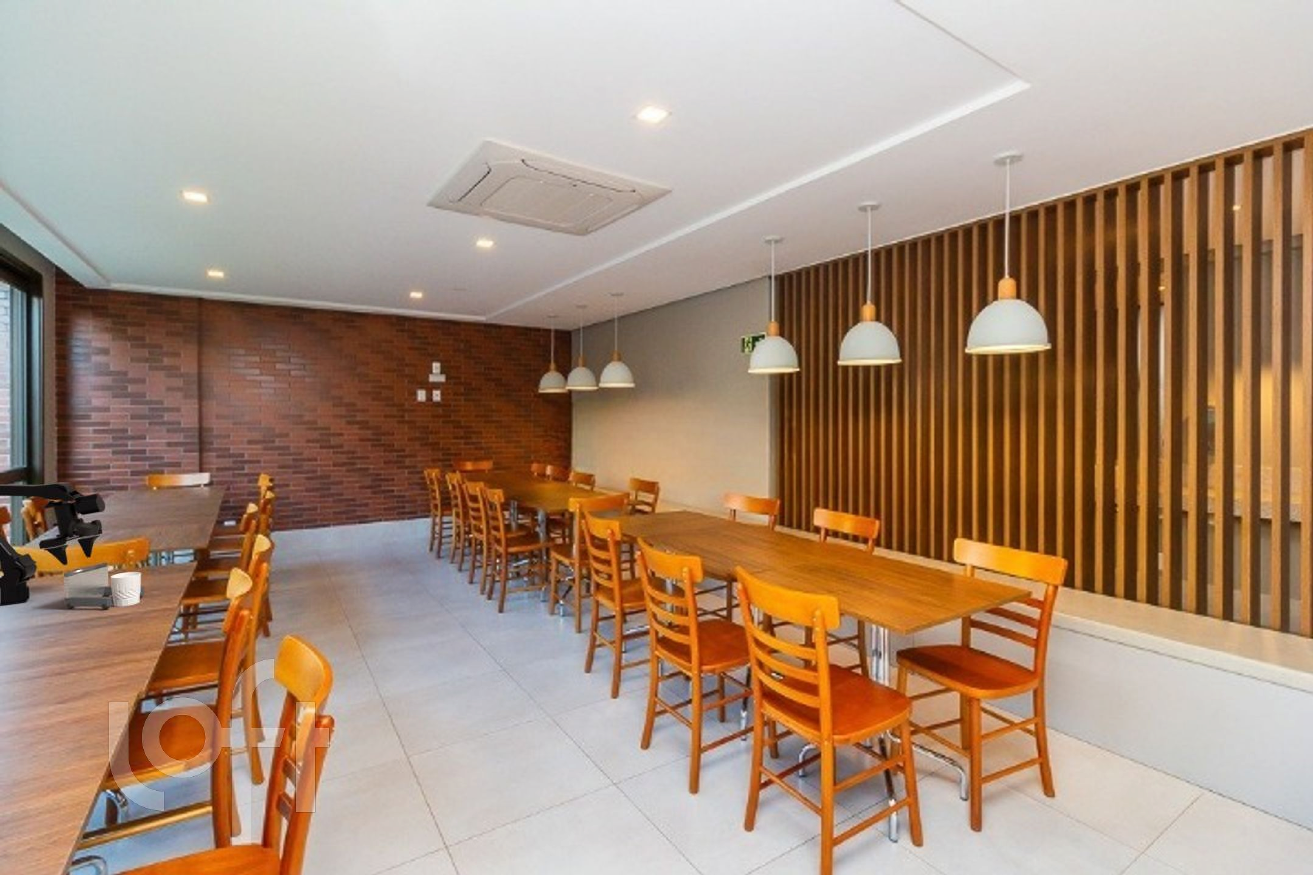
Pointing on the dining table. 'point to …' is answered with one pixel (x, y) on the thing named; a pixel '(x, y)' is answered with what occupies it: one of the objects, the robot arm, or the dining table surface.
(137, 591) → the white cup
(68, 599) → the silver boxy shape
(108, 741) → the dining table surface
